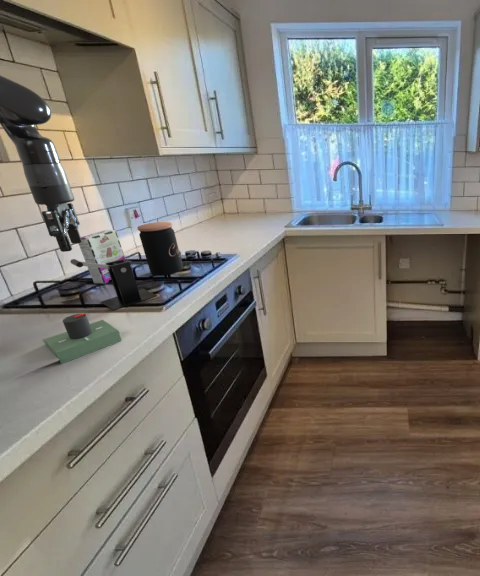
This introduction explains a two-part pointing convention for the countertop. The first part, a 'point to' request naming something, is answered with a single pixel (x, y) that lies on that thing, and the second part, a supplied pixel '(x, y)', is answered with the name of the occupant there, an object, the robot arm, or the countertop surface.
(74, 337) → the knob
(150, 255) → the coffee jar
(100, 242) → the candy bar box
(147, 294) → the bracket
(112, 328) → the panel
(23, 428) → the countertop surface
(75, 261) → the press lever
